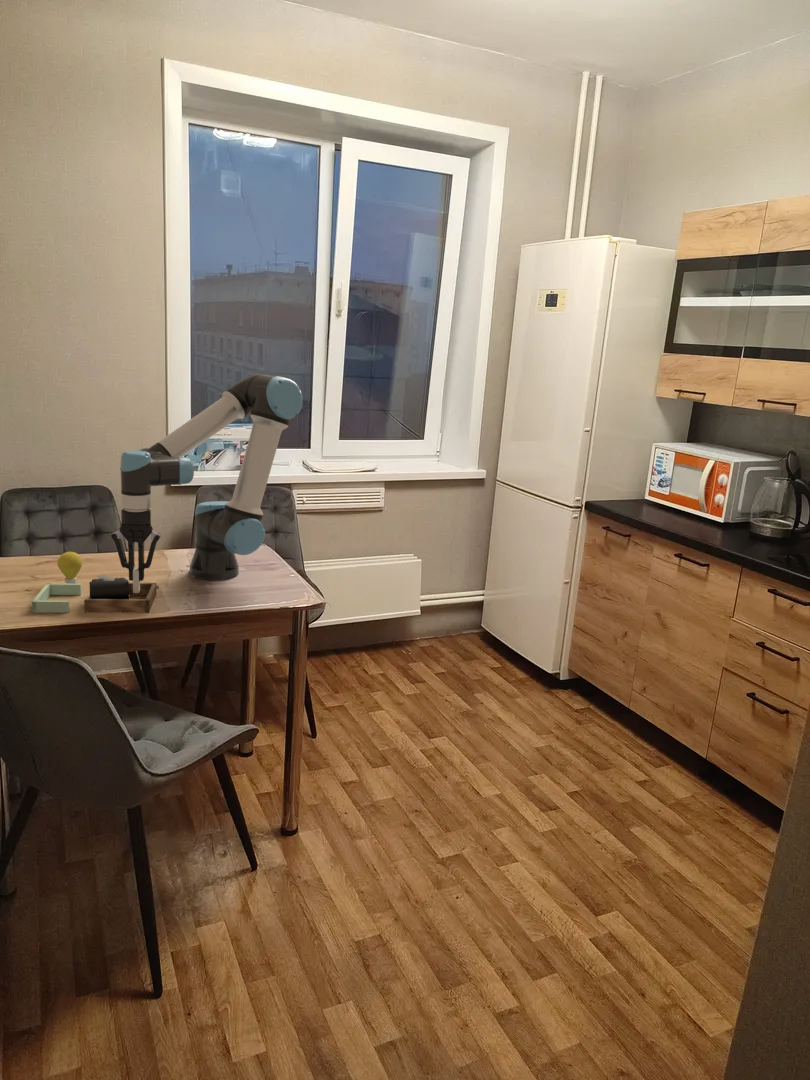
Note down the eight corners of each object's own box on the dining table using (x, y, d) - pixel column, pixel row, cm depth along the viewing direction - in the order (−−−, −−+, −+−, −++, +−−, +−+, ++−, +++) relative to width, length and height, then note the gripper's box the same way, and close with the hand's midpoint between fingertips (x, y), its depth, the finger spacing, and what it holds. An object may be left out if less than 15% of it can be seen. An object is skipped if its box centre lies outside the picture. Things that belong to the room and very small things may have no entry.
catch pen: (81, 593, 217) (81, 583, 216) (68, 612, 203) (68, 601, 202) (47, 593, 215) (47, 583, 214) (32, 612, 201) (31, 601, 200)
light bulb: (74, 589, 219) (72, 556, 217) (53, 586, 220) (51, 553, 218) (88, 583, 226) (86, 550, 223) (67, 580, 227) (66, 547, 224)
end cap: (90, 609, 206) (89, 585, 205) (90, 600, 213) (89, 577, 211) (129, 606, 210) (128, 583, 208) (128, 598, 216) (127, 575, 215)
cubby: (156, 594, 221) (156, 582, 220) (149, 612, 206) (149, 600, 205) (96, 593, 217) (96, 582, 217) (84, 612, 203) (84, 600, 202)
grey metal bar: (126, 586, 226) (126, 581, 226) (122, 587, 225) (122, 582, 224) (102, 579, 230) (102, 574, 230) (98, 580, 229) (98, 575, 229)
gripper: (162, 506, 210) (162, 587, 216) (113, 504, 208) (114, 586, 214) (159, 512, 203) (159, 596, 209) (107, 510, 201) (109, 595, 207)
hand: (136, 591), depth 212 cm, fingers closed
